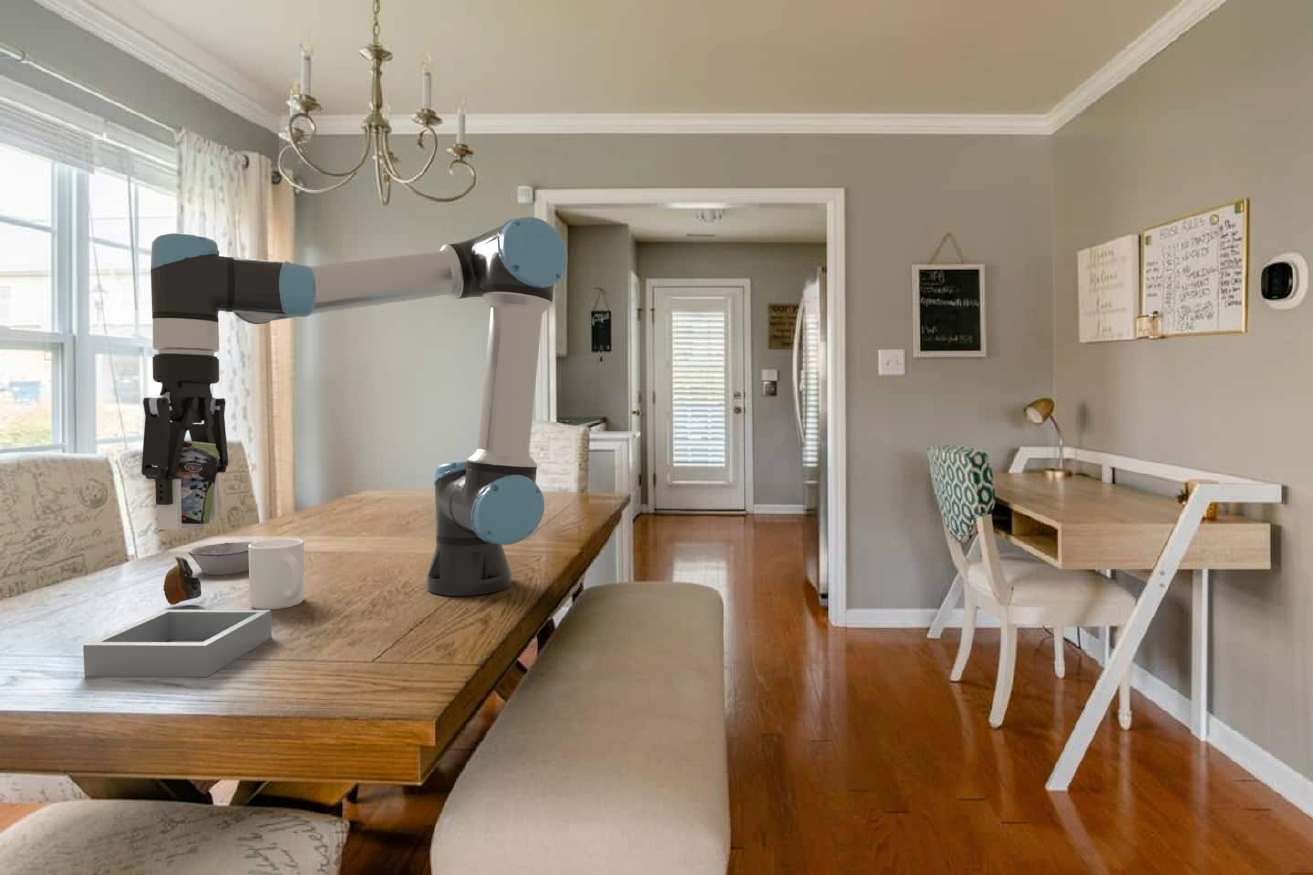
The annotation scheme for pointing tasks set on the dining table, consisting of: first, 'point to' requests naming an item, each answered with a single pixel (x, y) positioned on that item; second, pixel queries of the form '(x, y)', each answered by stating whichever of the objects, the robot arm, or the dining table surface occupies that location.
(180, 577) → the rock
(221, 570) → the bowl
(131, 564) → the dining table surface
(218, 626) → the corral
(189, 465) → the beverage can
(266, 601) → the mug
